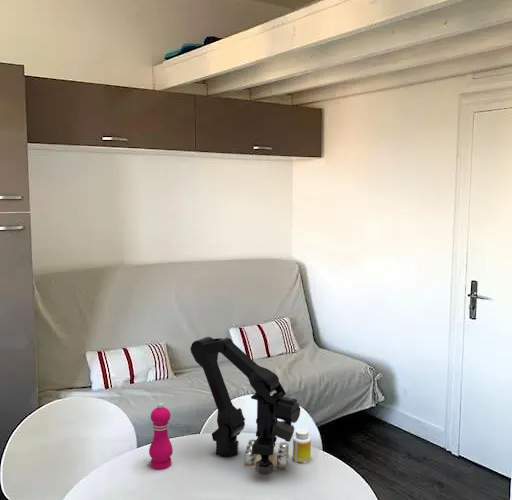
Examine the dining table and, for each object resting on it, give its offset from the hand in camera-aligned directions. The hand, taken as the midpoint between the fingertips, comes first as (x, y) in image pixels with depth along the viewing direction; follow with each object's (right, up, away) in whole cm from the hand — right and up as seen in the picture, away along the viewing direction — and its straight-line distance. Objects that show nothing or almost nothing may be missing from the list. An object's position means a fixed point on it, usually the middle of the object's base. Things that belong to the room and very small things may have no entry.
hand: (265, 462), depth 178 cm
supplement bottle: (+11, -2, +5) cm, 12 cm away
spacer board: (0, -2, +1) cm, 2 cm away
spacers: (0, 0, +3) cm, 3 cm away
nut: (-1, -1, -3) cm, 3 cm away
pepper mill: (-33, -1, +2) cm, 33 cm away
